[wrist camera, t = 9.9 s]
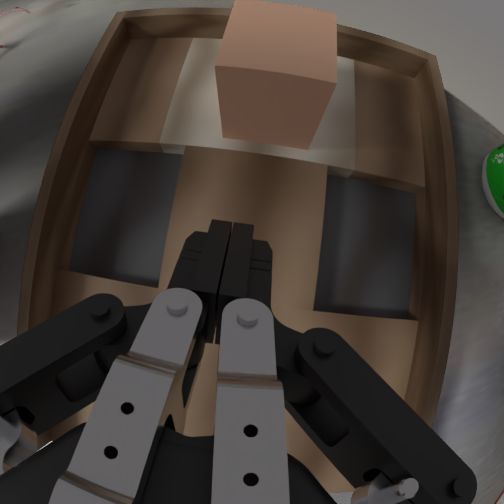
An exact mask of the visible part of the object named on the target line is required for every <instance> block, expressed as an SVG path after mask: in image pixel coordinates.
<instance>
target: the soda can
mask: <svg viewBox="0 0 504 504" xmlns="http://www.w3.org/2000/svg"><path fill="white" fill-rule="evenodd" d="M482 186H483V190H484V193H485V196H486V199H487V201H488V202H489V204H490V206H491V207H492V209H493V210H494V211H495V212H496V213H497V214H498V215H499V216H500V217H502V218H503V219H504V144H502V145H500V146H499V147H497V148H496V149H494V150H493V151H491V152H490V153H489V154H487V155H486V157H485V159H484V162H483V168H482Z"/></svg>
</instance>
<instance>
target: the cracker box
mask: <svg viewBox="0 0 504 504" xmlns="http://www.w3.org/2000/svg"><path fill="white" fill-rule="evenodd" d="M495 504H504V491H503V493H502V494H501V496H500V497H499V499H498V500H497V502H496V503H495Z"/></svg>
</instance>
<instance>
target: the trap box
mask: <svg viewBox="0 0 504 504" xmlns="http://www.w3.org/2000/svg"><path fill="white" fill-rule="evenodd" d="M231 11H232V9H227V8H161V9H145V10H134V11H125V12H117V13H116V15H115V16H114V18H113V20H112V21H111V23H110V25H109V26H108V28H107V30H106V31H105V33H104V35H103V37H102V38H101V40H100V42H99V44H98V46H97V47H96V49H95V51H94V53H93V55H92V57H91V59H90V61H89V63H88V65H87V67H86V69H85V71H84V73H83V75H82V77H81V79H80V81H79V83H78V86H77V88H76V90H75V92H74V94H73V97H72V99H71V101H70V104H69V106H68V108H67V111H66V113H65V116H64V118H63V121H62V124H61V126H60V129H59V131H58V134H57V137H56V140H55V143H54V145H53V148H52V151H51V154H50V157H49V161H48V164H47V167H46V170H45V173H44V177H43V180H42V184H41V187H40V191H39V195H38V199H37V203H36V207H35V211H34V215H33V220H32V224H31V229H30V234H29V239H28V244H27V250H26V256H25V262H24V268H23V275H22V283H21V292H20V301H19V313H18V328H17V336H18V335H20V334H22V333H24V332H26V331H27V330H29V329H31V328H33V327H34V326H36V325H38V324H40V323H42V322H44V321H45V320H47V319H49V318H51V317H53V316H54V315H56V314H58V313H60V312H62V311H64V310H65V309H67V308H69V307H71V306H73V305H75V304H77V303H78V302H80V301H82V300H84V299H86V298H88V297H90V296H92V295H95V294H99V293H108V294H112V295H115V296H116V297H118V298H119V299H120V300H121V301H122V303H123V305H124V306H137V305H145V304H149V303H152V302H153V301H154V299H155V297H156V296H157V295H158V294H160V293H161V292H163V291H165V290H166V289H167V287H168V284H169V282H170V279H171V276H172V274H173V271H174V268H175V266H176V263H177V261H178V259H179V255H180V253H181V250H182V248H183V245H184V243H185V240H186V238H187V237H189V236H190V235H191V234H192V233H193V232H195V231H200V232H207V233H208V229H209V226H210V223H211V220H212V219H216V220H223V221H230V222H232V229H233V224H234V222H238V223H245V224H251V225H254V232H253V239H256V240H263V241H267V242H268V244H269V245H270V247H271V249H272V251H273V260H272V288H271V309H272V312H273V314H274V316H275V317H276V319H277V320H278V321H279V322H281V323H282V324H283V325H285V326H286V327H289V328H291V329H293V330H296V331H298V332H301V333H304V332H305V331H307V330H309V329H312V328H318V327H320V328H327V329H330V330H332V331H334V332H336V333H338V334H339V335H340V336H341V337H342V338H343V339H344V340H345V341H346V342H347V343H348V344H349V345H350V346H351V347H352V348H353V349H354V350H355V351H356V352H357V353H358V354H359V355H360V356H361V357H362V358H363V359H364V360H365V361H366V362H367V363H368V364H369V365H370V366H371V367H372V368H373V369H374V370H375V371H376V372H377V373H378V374H379V375H380V377H381V378H382V379H383V380H384V381H385V382H386V383H387V384H388V385H389V386H390V387H391V388H392V389H393V390H394V391H395V392H396V393H397V394H398V395H399V396H400V397H401V398H402V399H403V400H404V401H405V402H406V403H407V404H408V405H409V406H410V407H411V408H412V409H413V410H414V411H415V412H416V413H417V414H418V415H419V416H420V417H421V418H422V419H423V420H424V422H425V423H426V424H427V425H428V426H429V427H430V428H431V427H432V424H433V420H434V416H435V413H436V409H437V405H438V401H439V397H440V393H441V388H442V384H443V379H444V374H445V369H446V364H447V358H448V353H449V346H450V340H451V333H452V326H453V318H454V309H455V299H456V287H457V272H458V243H459V222H458V193H457V178H456V166H455V156H454V148H453V140H452V132H451V126H450V119H449V113H448V108H447V102H446V97H445V92H444V87H443V83H442V78H441V74H440V70H439V66H438V62H437V58H436V56H435V55H432V54H430V53H427V52H425V51H422V50H420V49H417V48H414V47H412V46H409V45H406V44H403V43H400V42H398V41H395V40H392V39H389V38H386V37H382V36H379V35H376V34H372V33H369V32H366V31H362V30H358V29H355V28H351V27H347V26H342V25H338V24H337V85H336V87H335V89H334V92H333V94H332V96H331V99H330V101H329V103H328V105H327V108H326V110H325V112H324V115H323V117H322V119H321V121H320V124H319V126H318V128H317V131H316V133H315V135H314V137H313V140H312V142H311V144H310V146H309V149H308V150H303V149H297V148H291V147H285V146H279V145H273V144H266V143H259V142H252V141H244V140H236V139H228V138H223V135H222V126H221V118H220V109H219V101H218V92H217V84H216V75H215V66H214V65H215V62H216V58H217V55H218V52H219V48H220V45H221V42H222V39H223V35H224V32H225V29H226V26H227V23H228V20H229V17H230V14H231ZM231 234H232V233H231ZM215 336H216V329H215V335H214V340H213V344H211V343H205V348H204V353H203V357H202V359H201V365H200V369H199V372H198V375H197V379H196V382H195V386H194V389H193V393H192V396H191V399H190V403H189V406H188V410H187V414H186V421H185V428H184V433H183V435H185V436H189V437H197V436H212V435H213V425H214V410H215V394H216V379H217V365H218V354H219V345H218V344H215ZM95 402H96V401H94V402H93V403H91V404H90V405H88V406H86V407H85V408H83V409H82V410H80V411H78V412H77V413H75V414H74V415H72V416H70V417H69V418H67V419H65V420H64V421H62V422H61V423H59V424H57V425H56V426H54V427H52V428H51V429H49V430H47V431H46V432H44V433H42V434H41V435H39V436H37V450H39V449H40V448H42V447H43V446H45V445H46V444H47V443H49V442H50V441H54V440H56V439H57V438H59V437H60V436H62V435H63V434H65V433H66V432H68V431H69V430H71V429H72V428H74V427H76V426H78V425H80V424H82V423H85V422H87V420H88V418H89V415H90V413H91V411H92V408H93V406H94V404H95ZM285 423H286V440H287V453H288V454H290V455H292V456H293V457H295V458H296V459H298V460H299V461H300V462H302V463H303V464H304V465H305V466H306V467H307V468H308V469H309V470H310V472H311V473H312V474H313V475H314V476H315V478H316V479H317V480H318V481H319V483H320V484H321V485H322V486H323V488H324V489H325V490H326V491H327V492H328V493H338V492H353V491H355V488H354V487H353V486H352V485H351V484H350V483H349V482H348V481H347V480H346V478H345V477H344V476H343V475H342V474H341V473H340V472H339V471H338V470H337V469H336V467H335V466H334V465H333V464H332V463H331V462H330V461H329V460H328V458H327V457H326V456H325V455H324V454H323V453H322V451H321V450H320V449H319V448H318V447H317V446H316V445H315V443H314V442H313V441H312V440H311V439H310V438H309V436H308V435H307V434H306V433H305V432H304V430H303V429H302V428H301V427H300V426H299V424H298V423H297V422H296V421H295V420H294V418H293V417H292V416H291V415H290V414H289V412H288V411H287V410H286V409H285Z"/></svg>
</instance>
